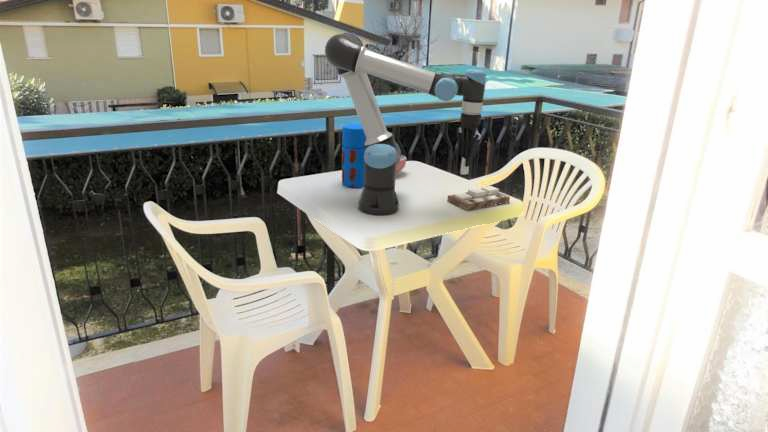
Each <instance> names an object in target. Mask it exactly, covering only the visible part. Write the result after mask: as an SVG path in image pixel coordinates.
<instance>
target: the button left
mask: <svg viewBox="0 0 768 432" xmlns="http://www.w3.org/2000/svg"><path fill="white" fill-rule="evenodd" d="M453 195H454V197H455V198H457V199H459V200H461V201H463V200H469V199H472V196H470V195H468V194H466V192H461V193H455V194H453Z"/></svg>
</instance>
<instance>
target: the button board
mask: <svg viewBox="0 0 768 432" xmlns="http://www.w3.org/2000/svg"><path fill="white" fill-rule="evenodd" d="M465 193H466V194H468V191H467V192H465ZM510 200H511V196H508V195H506V194H504V193H501V192H499V194H497V195H491V196H488V195H486V196H485V197H480V198H474V197H472V199H469V200H463V201H461V200H459V199H457V198H455V197H454V194H449V195H447V201H446V202H447V203H449V204H452V205H454V206H455V207H458V208H459V207H460V209H462V210H464V211H466V212H469V211H474V209H475V210H479V208H480V209H484V208H483V207H485V208H488V207H487V206H490V207H492V206H491V205H495V204H500V203H506V202H509V203H510ZM506 204H507V203H506Z"/></svg>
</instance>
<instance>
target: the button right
mask: <svg viewBox="0 0 768 432" xmlns="http://www.w3.org/2000/svg"><path fill="white" fill-rule="evenodd" d="M480 189H481V190H484V191H486V195H488V196H491V195H497V194H499V193H500V189H499V188H498V187H494V186H492V185H487V186H481V188H480Z"/></svg>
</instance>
